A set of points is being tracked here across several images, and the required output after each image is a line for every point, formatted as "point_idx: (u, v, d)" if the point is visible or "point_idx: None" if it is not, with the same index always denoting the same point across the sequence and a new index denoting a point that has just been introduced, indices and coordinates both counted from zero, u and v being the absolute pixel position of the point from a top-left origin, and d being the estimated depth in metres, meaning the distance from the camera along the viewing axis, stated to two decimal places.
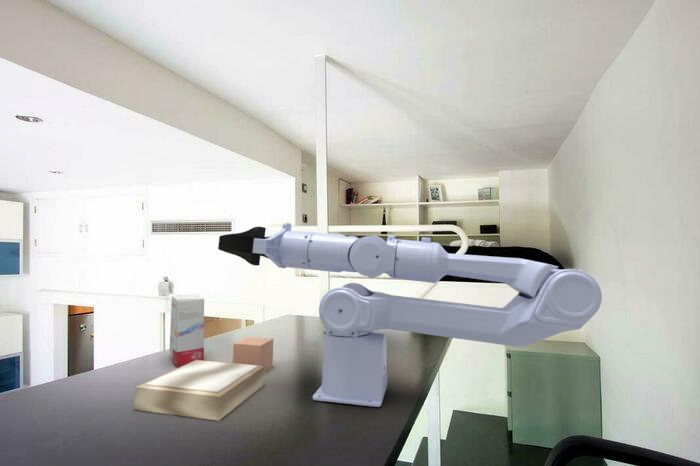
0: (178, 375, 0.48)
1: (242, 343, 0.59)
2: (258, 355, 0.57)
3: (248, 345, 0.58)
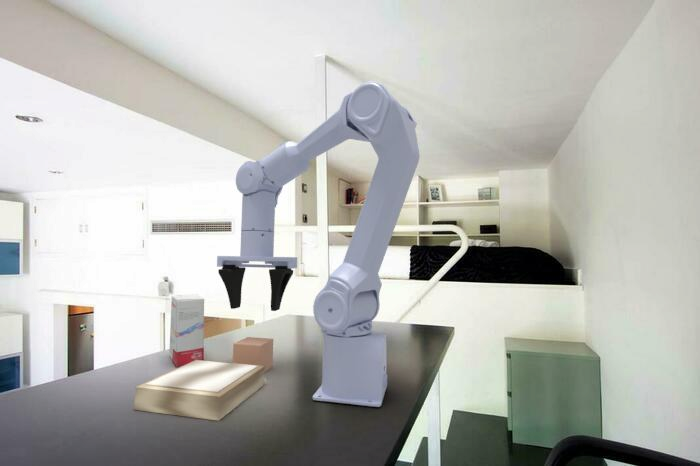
0: (178, 375, 0.48)
1: (242, 343, 0.59)
2: (258, 355, 0.57)
3: (248, 345, 0.58)
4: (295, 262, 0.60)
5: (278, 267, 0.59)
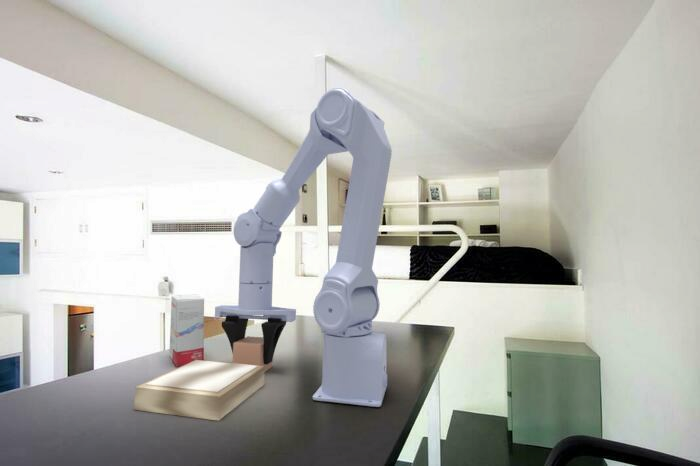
0: (178, 375, 0.48)
1: (242, 342, 0.59)
2: (258, 354, 0.57)
3: (248, 344, 0.58)
4: (294, 315, 0.59)
5: (271, 320, 0.59)
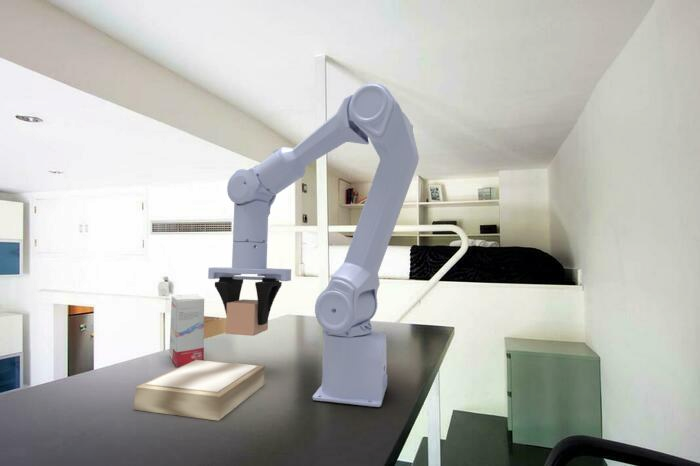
0: (178, 375, 0.48)
1: (236, 303, 0.57)
2: (252, 313, 0.56)
3: (242, 304, 0.56)
4: (289, 274, 0.57)
5: (265, 279, 0.57)
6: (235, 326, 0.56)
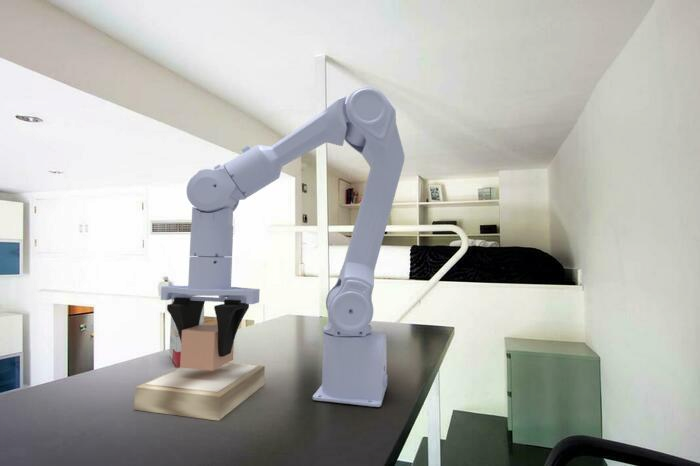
0: (178, 375, 0.48)
1: (193, 330, 0.48)
2: (212, 344, 0.46)
3: (200, 332, 0.47)
4: (256, 295, 0.48)
5: (228, 302, 0.48)
6: (192, 358, 0.47)
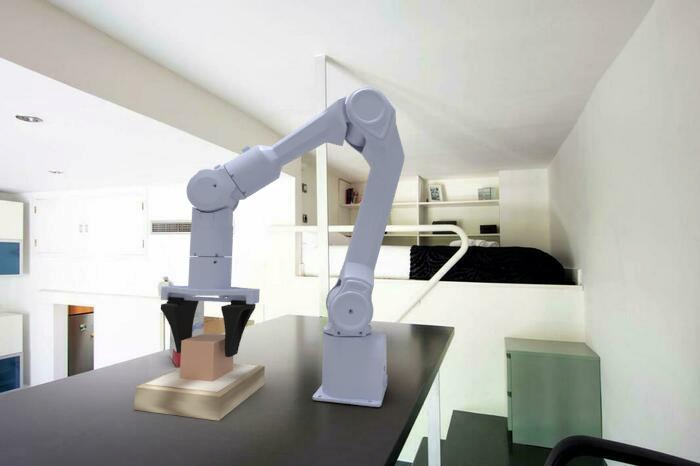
0: (178, 375, 0.48)
1: (193, 340, 0.47)
2: (211, 354, 0.46)
3: (199, 343, 0.47)
4: (256, 295, 0.48)
5: (234, 302, 0.48)
6: (191, 368, 0.47)
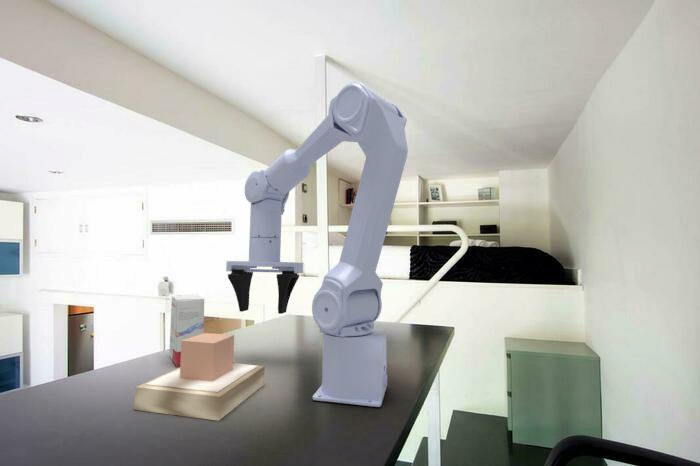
0: (178, 375, 0.48)
1: (193, 340, 0.47)
2: (211, 354, 0.46)
3: (199, 343, 0.47)
4: (301, 267, 0.63)
5: (285, 272, 0.62)
6: (191, 368, 0.47)
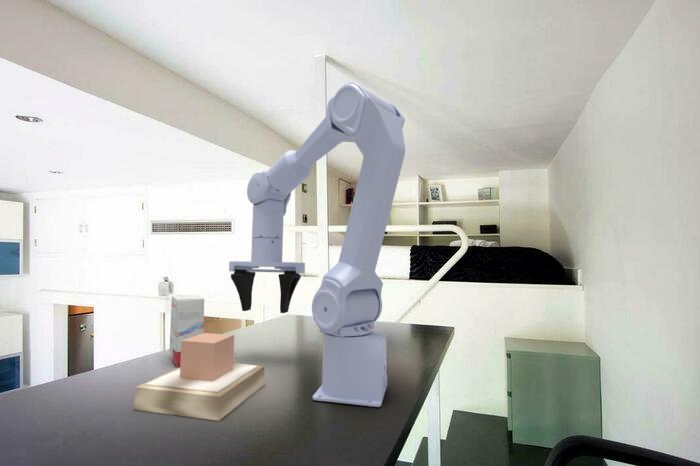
0: (178, 375, 0.48)
1: (193, 340, 0.47)
2: (211, 354, 0.46)
3: (199, 343, 0.47)
4: (303, 267, 0.64)
5: (287, 272, 0.63)
6: (191, 368, 0.47)
